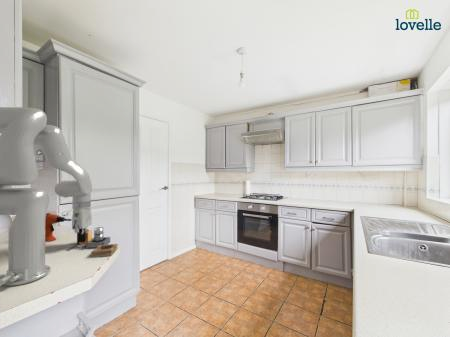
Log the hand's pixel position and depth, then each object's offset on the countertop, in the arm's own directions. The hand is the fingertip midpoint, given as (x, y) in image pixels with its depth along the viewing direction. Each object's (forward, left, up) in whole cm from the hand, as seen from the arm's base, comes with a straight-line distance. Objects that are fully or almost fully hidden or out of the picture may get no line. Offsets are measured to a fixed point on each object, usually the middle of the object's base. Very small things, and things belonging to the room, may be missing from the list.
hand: (81, 241), depth 103 cm
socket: (0, -8, -2) cm, 8 cm away
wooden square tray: (-11, -15, -2) cm, 19 cm away
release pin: (+4, 0, -2) cm, 5 cm away
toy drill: (+9, +16, -3) cm, 19 cm away
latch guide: (+1, 0, -2) cm, 3 cm away
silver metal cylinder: (0, -8, -2) cm, 8 cm away
